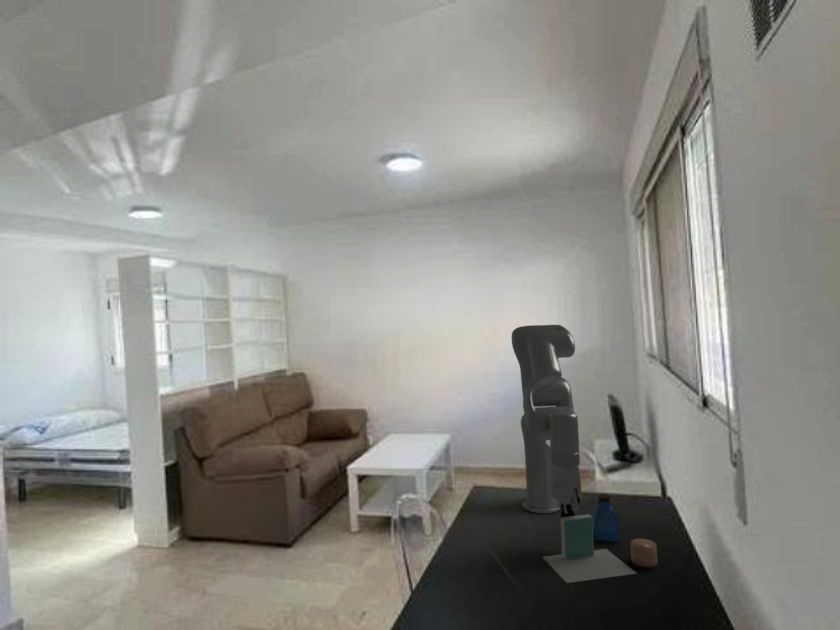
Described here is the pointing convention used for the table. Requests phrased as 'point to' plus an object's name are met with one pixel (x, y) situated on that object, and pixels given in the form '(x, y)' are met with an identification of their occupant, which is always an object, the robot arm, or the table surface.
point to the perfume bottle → (605, 520)
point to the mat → (589, 566)
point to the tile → (577, 536)
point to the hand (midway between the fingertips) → (568, 526)
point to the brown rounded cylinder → (643, 552)
